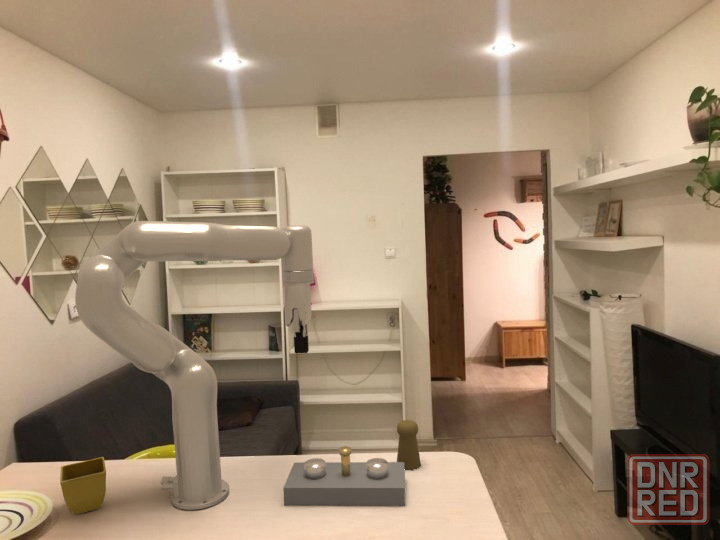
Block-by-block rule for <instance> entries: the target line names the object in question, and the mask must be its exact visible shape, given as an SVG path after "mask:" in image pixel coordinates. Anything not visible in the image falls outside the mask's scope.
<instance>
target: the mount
mask: <svg viewBox="0 0 720 540" xmlns="http://www.w3.org/2000/svg"><path fill="white" fill-rule="evenodd" d="M366 462H367V461H366ZM366 462H365V461H364V462H363V461H361V462H356V461H355V462H354V461H353V462H351V461H350V471H351V475H350V476H348V477H344V476H342V469H341V461H340V462H339V461H338V462H336V461H334V462H331V461H330V462H326V461H325V464H326V474H325V476H323V477H321V478H318V479H309V478H307V477H305V474H304V463H305V461H304V462H301V461H300V462H294V463H293V465H292V467H291V469H290V471H289V474H288V476H287V478H286V480H285V483H284V485H283V504H284V506H286V507H287V506H290V507H292V506H293V507H294V506H295V507H296V506H301V507H308V506H309V507H311V506H312V507H313V506H314V507H316V506H317V507H321V506H322V507H323V506H325V507H327V506H328V507H334V506H336V507H338V506H339V507H340V506H341V507H344V506H345V507H349V506H350V507H363V506H364V507H405V506H406V481H405V480H406V479H405V478H406V476H405V475H406V474H405V471H406V470H404V462H397V461H387V462H388V475H387V476H386V477H384V478H381V479H373V478H370V477H368V476H367V471H366Z"/></svg>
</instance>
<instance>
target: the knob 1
mask: <svg viewBox="0 0 720 540" xmlns="http://www.w3.org/2000/svg"><path fill="white" fill-rule="evenodd" d="M304 462H305V463H304V474H305V477H307V478H309V479H318V478H321V477H323V476H325V474H326V464H325V462H326V460H325V459H322V458H318V457H316V458H315V457H314V458H310V459H307V460H305V461H304Z"/></svg>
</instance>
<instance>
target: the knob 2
mask: <svg viewBox="0 0 720 540" xmlns="http://www.w3.org/2000/svg"><path fill="white" fill-rule="evenodd" d="M388 462H389V461H387V459H384V458H382V457H373V458H371V459H368V460H367V461H366V471H367V476H368V477H370V478H373V479H381V478H384V477H386V476H387V475H388Z"/></svg>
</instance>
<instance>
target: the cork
mask: <svg viewBox="0 0 720 540" xmlns="http://www.w3.org/2000/svg"><path fill="white" fill-rule="evenodd" d="M396 433H397V434H398V435H399V436H398V446H397V456H396V462H404V469H405V471H406V470H411V471H414V470H413V469H416V470H418V469H420V468H421V467H422V463H421V459H420V458H421V457H420V456H421V455H420V452H419V445H418V444H419V443H418V440H417V435H418V433H419V427H418V423H417V422H416V421H414V420H411V419H404V420H401V421H399V422H398V424H397V426H396ZM419 467H420V468H419ZM417 468H418V469H417Z"/></svg>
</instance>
